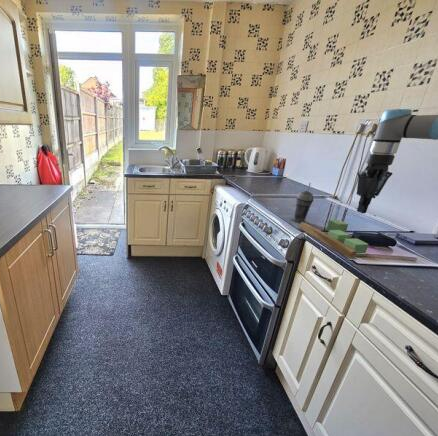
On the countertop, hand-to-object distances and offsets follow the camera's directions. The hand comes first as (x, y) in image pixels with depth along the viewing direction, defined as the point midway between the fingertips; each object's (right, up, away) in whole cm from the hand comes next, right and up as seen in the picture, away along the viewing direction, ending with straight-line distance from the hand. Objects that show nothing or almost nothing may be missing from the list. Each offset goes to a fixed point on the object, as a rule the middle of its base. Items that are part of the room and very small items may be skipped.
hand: (361, 212), depth 101 cm
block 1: (-2, -9, +11) cm, 14 cm away
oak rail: (-14, -12, +2) cm, 19 cm away
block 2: (-10, -16, -7) cm, 20 cm away
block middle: (-10, -13, 0) cm, 17 cm away
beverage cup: (-11, -4, +24) cm, 26 cm away
